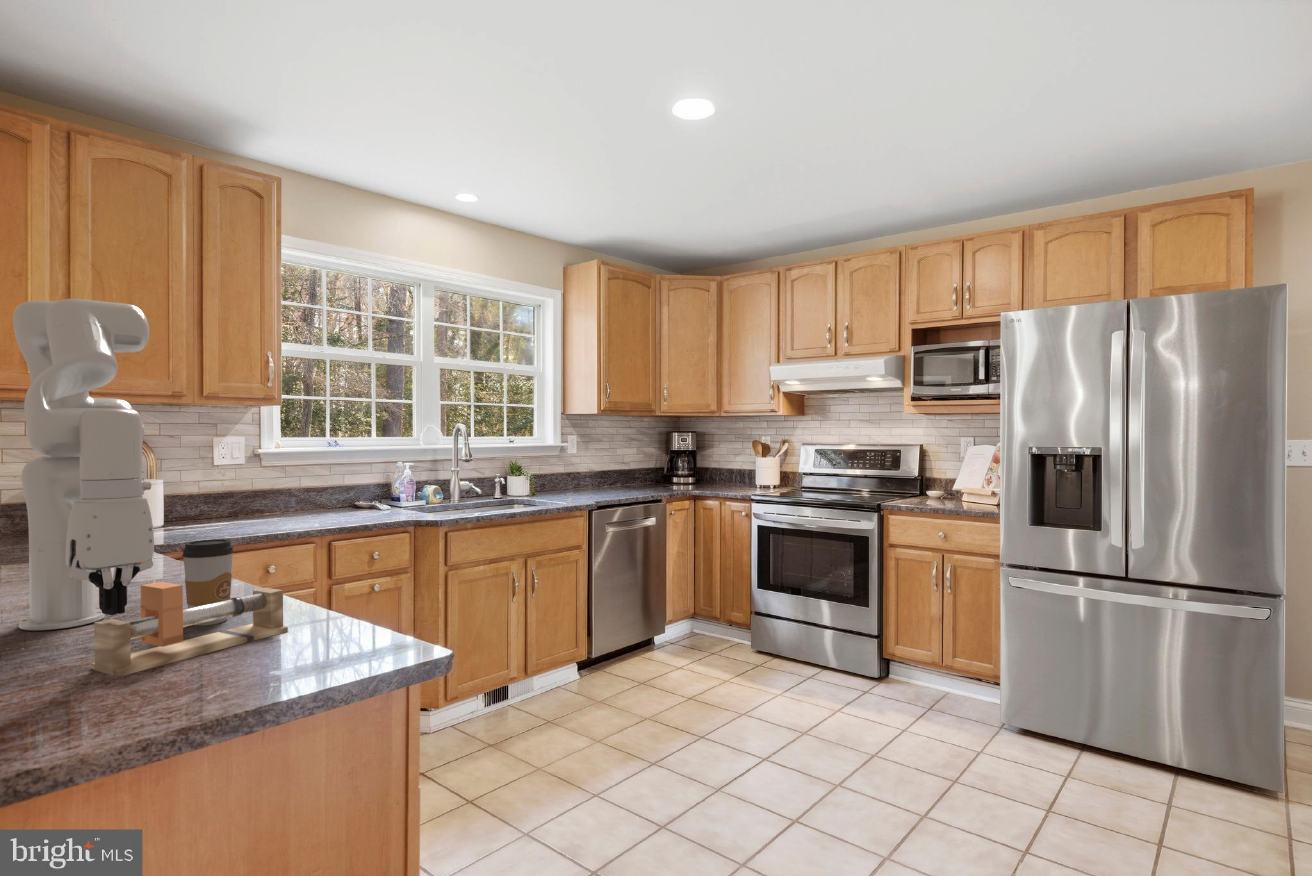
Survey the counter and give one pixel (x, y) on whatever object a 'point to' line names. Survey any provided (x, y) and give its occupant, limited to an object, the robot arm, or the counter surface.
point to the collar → (163, 612)
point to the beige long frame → (120, 661)
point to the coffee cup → (208, 573)
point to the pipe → (202, 614)
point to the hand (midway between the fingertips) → (113, 613)
